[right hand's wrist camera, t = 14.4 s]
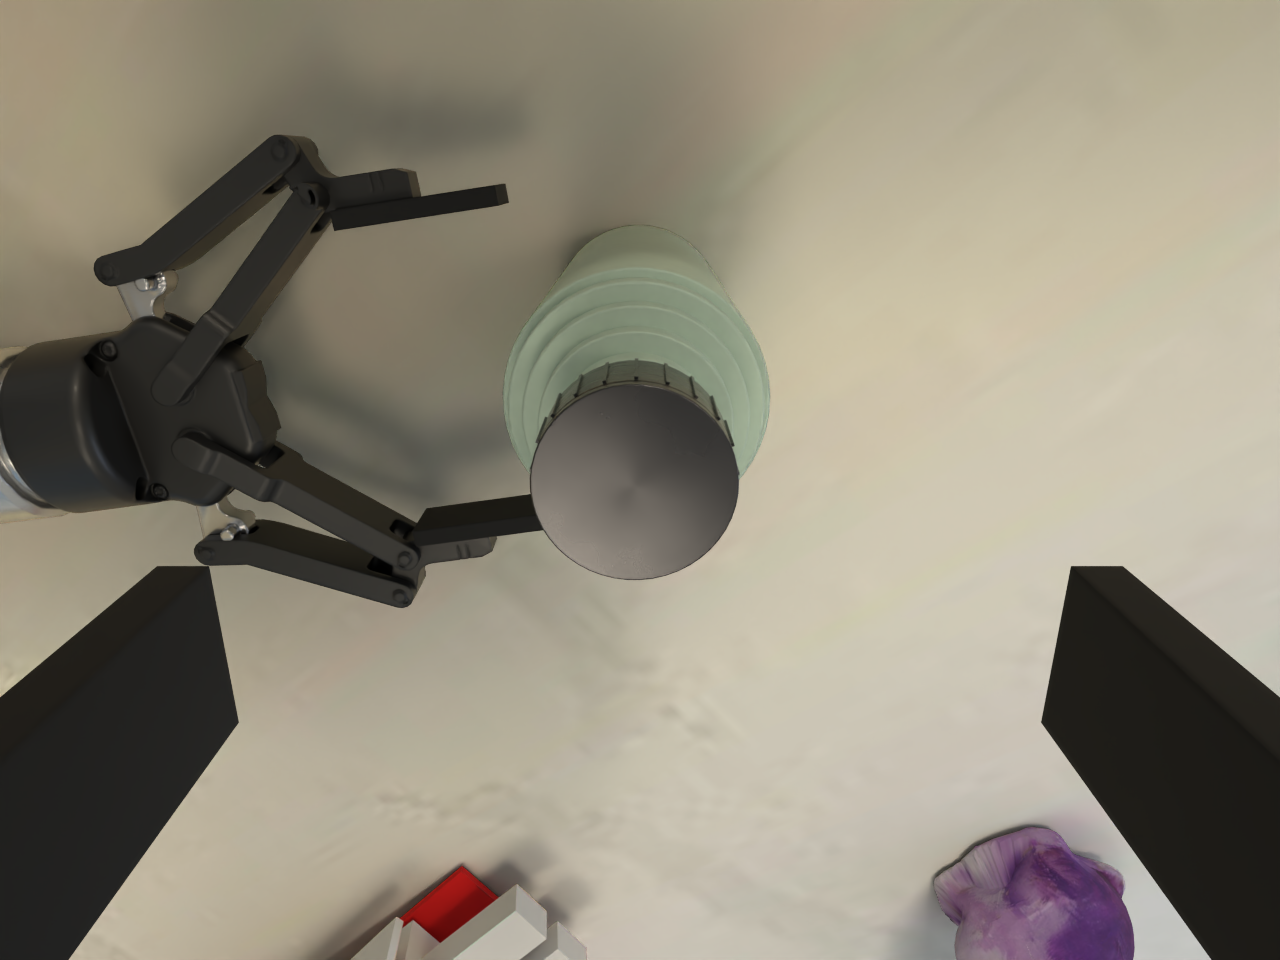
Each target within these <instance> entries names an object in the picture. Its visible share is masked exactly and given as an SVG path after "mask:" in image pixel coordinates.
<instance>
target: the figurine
mask: <svg viewBox="0 0 1280 960" xmlns="http://www.w3.org/2000/svg"><path fill="white" fill-rule="evenodd" d="M934 889H935V892H936V895H937V898H938V901H939V904H940V906H941V907H942V911H944V912H945V914H946V915H947V916H948V917H949V918H950V920H951V921H953V922H954V923H955V924H956V925H957V926H959V928H958V930H957V933H956V939H955V953H956V958H957V960H1133V957H1134V934H1133V927H1132V923H1131V920H1130V917H1129V914H1128V911H1127V908H1126V906H1125V905H1124V903H1123V901H1122V899H1121V898H1122V895H1123V893H1124V890H1125V880H1124V878H1123V876H1122V874H1121V873H1120V872H1119V871H1118V870H1117V869H1115V868H1113V867H1112V866H1110V865H1107V864H1105V863H1102V862H1098V861H1095V860H1092V859H1088V858H1084V857H1081V856H1078V855H1075V854H1073V853H1072V852H1071V851H1070V849H1069V847H1068V846H1067V844H1066V843H1065V841H1064V840H1063V839H1062V837H1061V836H1060V835H1059V834H1057V833H1056V832H1054V831H1052V830H1049V829H1044V828H1037V827H1026V828H1024V829H1022V830H1019V831H1016V832H1013V833H1010V834H1006V835H1003V836H1000V837H997V838H994V839H991V840H989V841H987V842H985V843H983V844H981V845H979V846H975V847H974V848H973V850H971V851H970V852H969V853H968V854H966V856H965V857H964V858H962V860H961V861H960V862H958V863H957V864H955V865H954V866H953V867H950V868H949V869H948V870H945V871H943V872H942V873H941V874H940V875H939V876H937V877H936V878H935V880H934Z"/></svg>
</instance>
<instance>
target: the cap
mask: <svg viewBox="0 0 1280 960" xmlns="http://www.w3.org/2000/svg"><path fill="white" fill-rule="evenodd" d="M535 443H538V444H537V447H536V450H535V452H534V456H533V460H532V464H531V466H530V493H531V498H532V504H533V507H534V510H535V513H536V516H537V518H538V520H539V522H540V525H541V527H542V528H543V530H544V531H545V533H546V535H547V536H548V538H549V539H550V540H551V541H552V542H553V544H554V545H555V546H556V547H557V548H558V549H559V550H560V551H561V552H562V553H563V554H565V555H566V556H567V557H568V558H570V559H571V560H572V561H574V562H575V563H577V564H578V565H580V566H582V567H584V568H586V569H588V570H590V571H592V572H595V573H598V574H600V575H604V576H608V577H612V578H617V579H625V580H644V579H653V578H657V577H662V576H666V575H669V574H672V573H674V572H677V571H679V570H681V569H683V568H685V567H687V566H689V565H691V564H692V563H694V562H695V561H697V560H698V559H700V558H701V557H702V556H703V555H705V554H706V553H707V552H708V551H709V550H710V549H711V548H712V547H713V546H714V545H715V544H716V543H717V541H718V540H719V539H720V538H721V536H722V535H723V533H724V532H725V530H726V529H727V527H728V525H729V523H730V521H731V519H732V516H733V513H734V510H735V507H736V503H737V498H738V490H739V475H740V472H739V469H738V466H737V462H736V457H735V454H734V451H733V447H734V446H735V445H734V442H733V439H732V436H731V433H730V429H729V426H728V423H727V420H723V417H722V415H721V413H720V411H719V409H718V407H717V405H716V402H715V399H714V397H713V395H712V396H710V395H709V394H708V393H707V392H706V391H705V390H704V389H703V388H702V387H701V386H700V385H699V384H698V383H697V382H696V381H695V380H694V377H693V376H690V377H689V376H687V375H686V374H684V373H682V372H681V371H679V370H677V369H674V368H672V367H669V366H668V364H667V363H664V365H663V364H660V363H656V362H650V361H643V360H638V358H635V360H627V361H619V362H614V363H610V364H609V362H606V363H605V365H603V366H601V367H598V368H596V369H593V370H591V371H589V372H588V373H586V374H584V375H582V374H580V375H579V377H578V379H577V380H576V381H574V382H573V383H572V384H571V385H570V386H569V387H568V388H567V389H566V390H565V391H564V392H563V393H562V394H561V393H559V394H558V396H557V399H556V401H555V404H554V406H553V407H552V409H551V411H550V413H549V415H548V417H545V418H544V421H543V423H542V426H541V429H540V431H539V434H538V437H537V439H536V442H535Z"/></svg>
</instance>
